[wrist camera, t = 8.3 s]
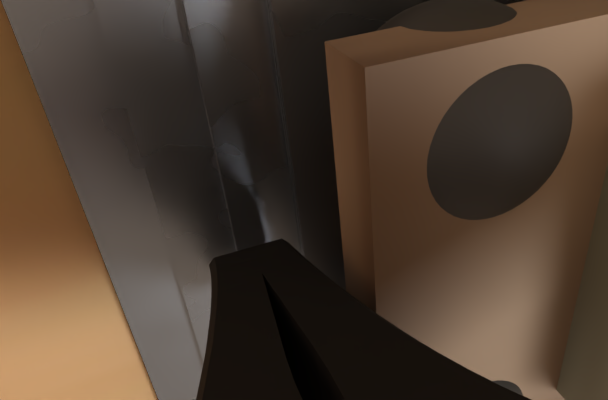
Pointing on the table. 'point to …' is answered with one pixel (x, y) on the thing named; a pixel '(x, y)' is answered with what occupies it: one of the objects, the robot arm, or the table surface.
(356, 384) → the robot arm
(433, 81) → the square caster platform
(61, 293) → the table surface
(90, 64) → the plate
